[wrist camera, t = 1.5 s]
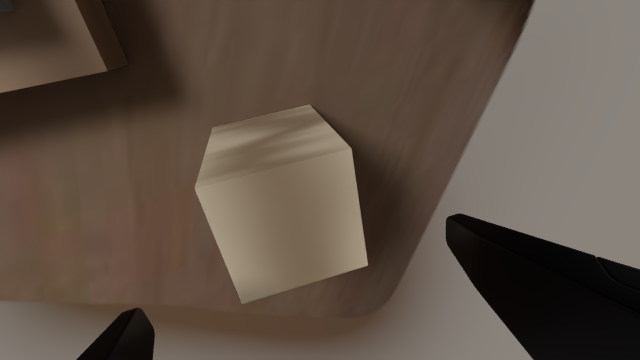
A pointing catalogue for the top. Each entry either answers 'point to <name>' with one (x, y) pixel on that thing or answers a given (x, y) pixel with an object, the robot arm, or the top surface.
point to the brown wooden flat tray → (55, 42)
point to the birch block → (281, 201)
